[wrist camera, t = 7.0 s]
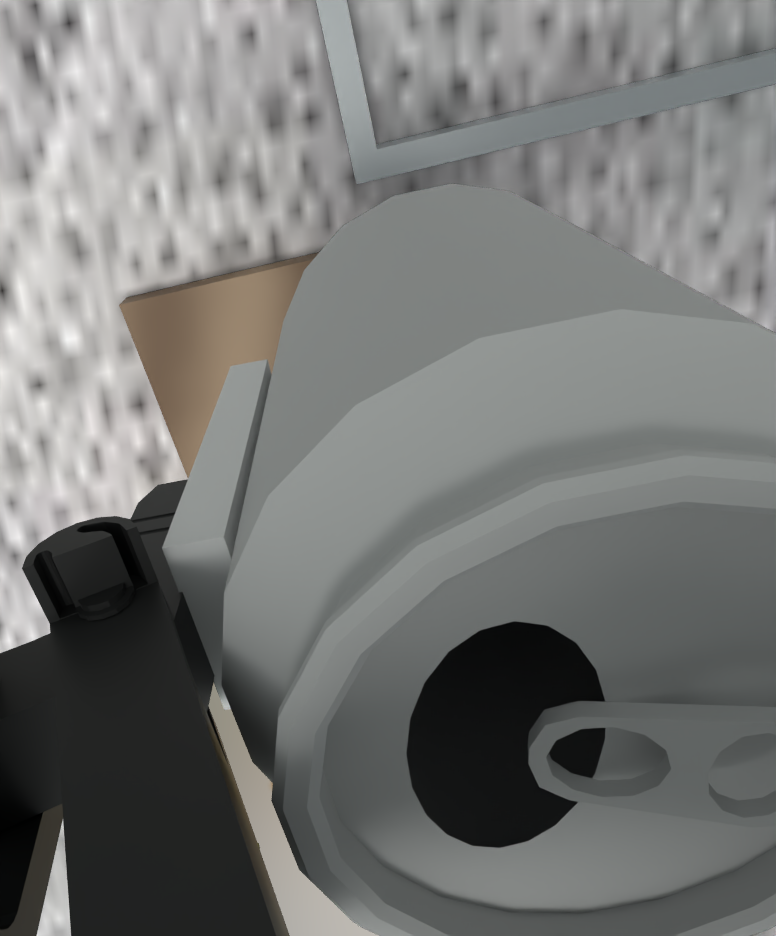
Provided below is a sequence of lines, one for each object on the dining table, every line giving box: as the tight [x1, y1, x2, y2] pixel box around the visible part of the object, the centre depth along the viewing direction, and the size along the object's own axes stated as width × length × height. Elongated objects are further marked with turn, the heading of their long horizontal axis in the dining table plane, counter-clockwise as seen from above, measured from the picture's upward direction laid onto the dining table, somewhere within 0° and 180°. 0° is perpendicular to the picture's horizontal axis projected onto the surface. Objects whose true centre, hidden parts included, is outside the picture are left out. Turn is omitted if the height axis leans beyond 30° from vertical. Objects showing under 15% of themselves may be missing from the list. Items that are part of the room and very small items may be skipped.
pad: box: [119, 252, 319, 478], centre depth 33 cm, size 14×14×1 cm
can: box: [221, 183, 776, 936], centre depth 11 cm, size 8×8×12 cm
